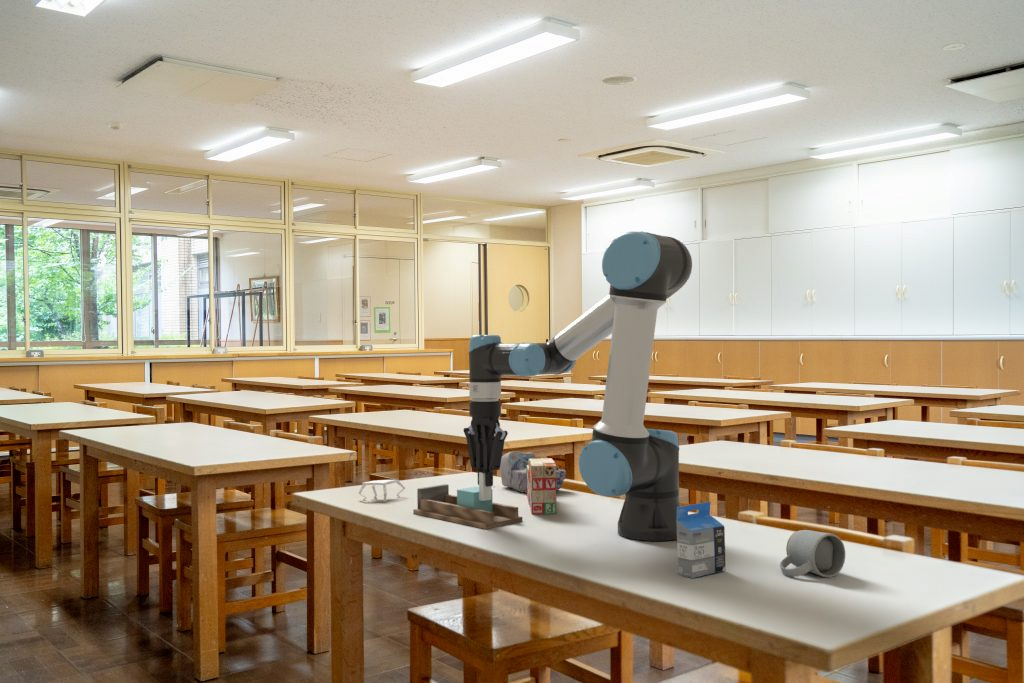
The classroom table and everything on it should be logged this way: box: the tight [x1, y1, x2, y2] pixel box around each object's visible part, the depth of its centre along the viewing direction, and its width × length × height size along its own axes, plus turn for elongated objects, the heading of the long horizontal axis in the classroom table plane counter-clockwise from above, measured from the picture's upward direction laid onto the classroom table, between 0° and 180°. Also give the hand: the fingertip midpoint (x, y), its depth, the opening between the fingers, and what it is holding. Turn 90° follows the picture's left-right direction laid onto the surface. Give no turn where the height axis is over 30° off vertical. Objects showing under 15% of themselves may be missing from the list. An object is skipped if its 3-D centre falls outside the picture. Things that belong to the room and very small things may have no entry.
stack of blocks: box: [526, 457, 558, 515], centre depth 219 cm, size 21×6×12 cm, turn 2°
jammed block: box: [456, 486, 493, 512], centre depth 203 cm, size 6×6×6 cm
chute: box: [412, 483, 523, 530], centre depth 205 cm, size 26×12×6 cm, turn 45°
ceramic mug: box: [779, 529, 846, 578], centre depth 154 cm, size 11×8×8 cm
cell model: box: [499, 451, 567, 494], centre depth 243 cm, size 13×11×20 cm
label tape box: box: [676, 501, 727, 579], centre depth 154 cm, size 9×4×12 cm, turn 124°
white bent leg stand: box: [358, 479, 406, 502], centre depth 230 cm, size 12×8×5 cm
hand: (485, 499), depth 200 cm, fingers closed
